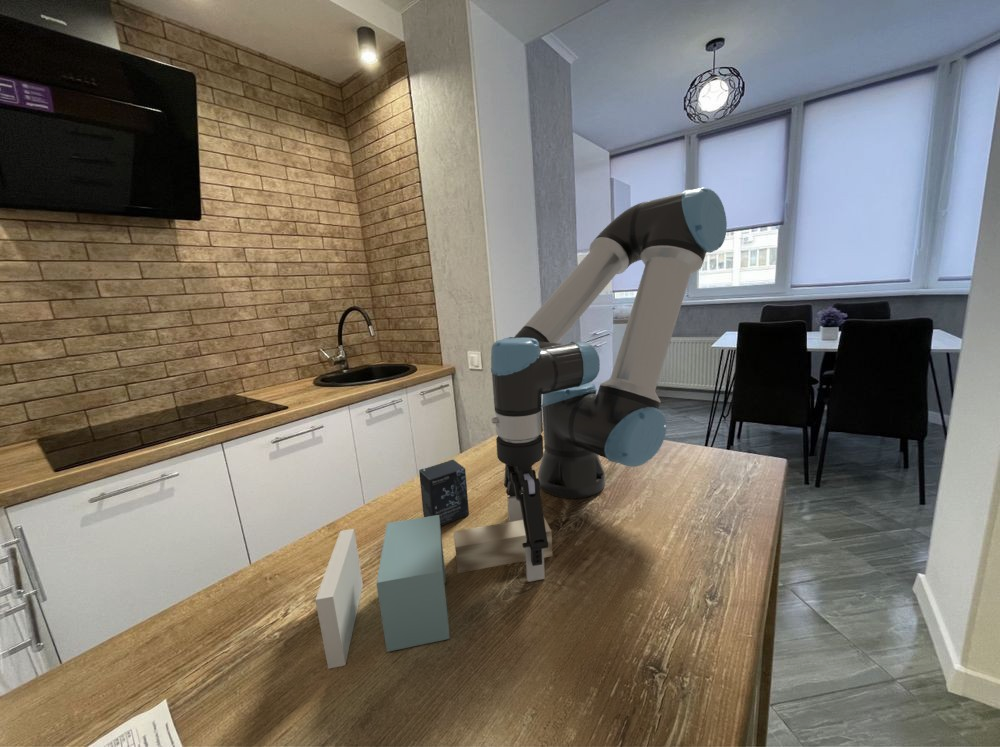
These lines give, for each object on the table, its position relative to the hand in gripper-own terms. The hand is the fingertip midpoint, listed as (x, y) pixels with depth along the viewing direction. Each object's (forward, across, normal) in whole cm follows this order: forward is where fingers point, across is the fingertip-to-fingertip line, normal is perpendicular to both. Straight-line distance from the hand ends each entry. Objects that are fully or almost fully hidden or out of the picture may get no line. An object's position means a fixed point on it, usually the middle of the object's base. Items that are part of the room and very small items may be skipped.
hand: (525, 551), depth 67 cm
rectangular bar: (0, 0, -4) cm, 4 cm away
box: (0, -15, -13) cm, 20 cm away
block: (0, +8, -18) cm, 19 cm away
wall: (0, +8, -28) cm, 29 cm away
